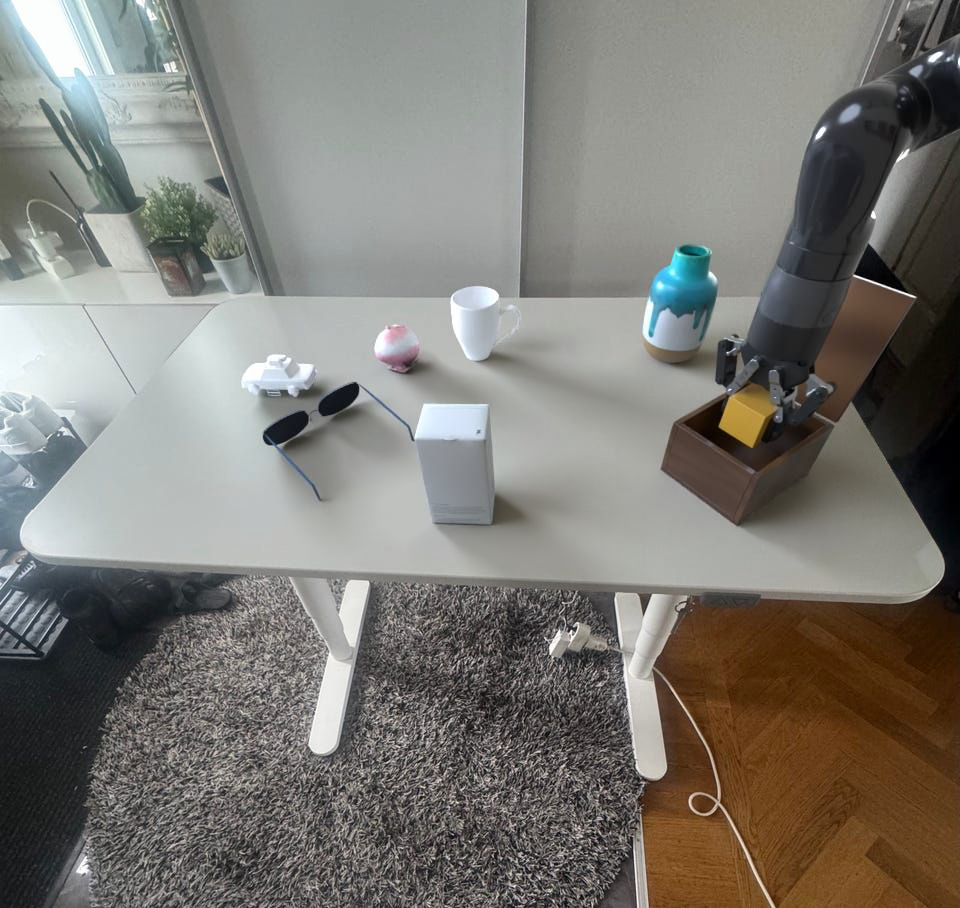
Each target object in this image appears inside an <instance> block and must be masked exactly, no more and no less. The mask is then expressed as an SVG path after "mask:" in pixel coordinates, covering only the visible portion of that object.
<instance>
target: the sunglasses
mask: <svg viewBox="0 0 960 908" xmlns="http://www.w3.org/2000/svg"><path fill="white" fill-rule="evenodd" d="M360 387H361V388H362V389H363V391H365V393H367V394H368V395H369V396H370V397H372V398H373V399H374V400H375V401H376V402H377V403H379V404H380V405H381V406H382V407H383V408H384V409H386V411H388V412H389V413H390V414H391V415H392V416H394V417H395V418H396V419H397V420H398V421H399V422H401V423H402V424H403V425H404V426H405V427H406V428H407V430H408V433H409V437H410V439H411V441H412V442H415V440H414V438H415V437H414V435H413V432H412V429H411V427H410V425H409V424H408V423H407V422H406V421H405V420H404V419H403V418H402V417H400V416H399V415H398V414H397V413H396V412H394V411H393V410H392V409H391V408H390V407H388V406H387V405H386V404H385V403H383V402H382V401H381V400H380V399H379V398H378V397H376V396H375V395H374V394H373V393H372V392H370V391H369V390H368V389H367V388H366V387H365V386H363V385H361V384H360V383H358V382H357V381H351V382H347V383H345V384H343V385H340V386H338V387H336V388H334V389H333V390H331V391H330V392H328V393H326V394H325V395H324V396H323V397H321V398H320V400H319V401H318V403H317V409H313V410H311V411H310V413H309V414H308V413H307V411H306V410H304V409H300V410H298V409H297V410H295V411H293V412H290V413H288V414H285V415H283V416H282V417H280V418H278V419H276V420H274V421H273V422H272V423H270V424H269V425H268V426H266V427H265V428H264V430H263V431H262V433H261V435H262V440H263V443H264V444H265V445H266V446H274V448H275V449H276V450H277V451H278V452H279V453H280V454H281V455H282V456H283V457H284V459H285V460H286V461H287V462H288V463H289V464H290V465H291V466H292V467H293V468H294V469H295V470H296V471H297V472H298V474H300V475H301V477H302V478H303V479H304V480H305V481H306V482H307V483H308V484H309V485H310V486H311V488H312V489H313V492H314V493H315V496H316V497H317V499H318V501H319V502H321V501H322V499H321V496H320V494H319V492H318V490H317V487H316V486H315V484H314V483H313V482H312V481H311V480H310V479H309V477H307V475H306V474H305V473H304V472H303V471H302V470H301V469H300V468H299V467H298V465H297V464H295V463H294V462H293V461H292V459H290V457H289V456H288V455H287V454H286V453H284V451H283V450H282V449H281V447H279V446H278V445H281V444H285V443H286V442H288V441H290V440H292V439H293V438H295V437H296V436H298V435H299V434H300V433H301V432H303V430H305V429H306V428H307V426H308V425H309V423H310V424H311V423H312V421H313V420H312V419H313V418H312V416H311V414H312V413H313V412H317V414H318V415H319V416H320V417H323V418H324V417H329V416H334V415H336V414H339V413H341V412H342V411H344V410H346V409H347V408H349V407H350V406H351V405H352V404H354V402H355V401H356V400H357V399H358V398H359V395H360Z"/></svg>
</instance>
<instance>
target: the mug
mask: <svg viewBox="0 0 960 908" xmlns="http://www.w3.org/2000/svg"><path fill="white" fill-rule="evenodd" d="M450 309H451V320H452V321H451V322H452V328H453V331H454V334H455V337H456V339H457V341H458V342H459V344H460V347H461V348H462V350H463V352H464V354H465V356H466V358H467V359H468V360H470V361H474V362H480V361H481V362H482V361H484V360H487V359H488V358H489V357H490V354H491V352H492V350H493V348H494V347H497V346H499V345H501V344H502V343H504V342H505V341H507V340H508V339H509V338H512V336H513V335H515V334H516V333H517V332H518V331H519V329H520V327H521V324H522V314H521V311H520V309H519V308H518V306H516V305H515V304H508V305H506V306H504V307H503V308H502V307H501V299H500V295H499V293H498V292H497V290H495V289H493V288H490V287H487V286H481V285H475V286H474V285H472V286H467V287H462V288H460V289H458V290H456V291H455V292H454V293H453V294H452V296H451V298H450ZM509 311H512V312H514V313H515V314H516V316H517V322H516V325H515V326H514V327H513V329H511V331H509V332H508V333H507V334H505V335H504V336H502V337H501V338H500V339H497V337H498V334H499V332H500V326H501V321H502V317H503V315H504V314H505V313H507V312H509Z"/></svg>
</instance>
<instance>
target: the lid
mask: <svg viewBox="0 0 960 908" xmlns="http://www.w3.org/2000/svg"><path fill="white" fill-rule="evenodd" d="M917 299H918V296H915V295H912V294H909V293H906V292H904V291H902V290H898V289H896V288H892V287H890V286H887V285H885V284H881V283H878V282H876V281H874V280H870V279H867V278H865V277H861V276H859V275H856V274H854V275H853V277H852V280H851V283H850V287H849V290H848V293H847V296H846V298H845V301H844V303H843V305H842V307H841V309H840V311H839V313H838V315H837V317H836V320H835V322H834V324H833V326H832V328H831V330H830V332H829V334H828V336H827V338H826V341H825V343H824V345H823V347H822V349H821V351H820V353H819V355H818V357H817V359H816V361H815V375H816V376H818V377H819V378H820V379H822V380H823V381H824V382H825V383H827V382H829V381H833V382H835V383H836V384H837V389H836V391H835V392H834V393H833V394H832V395H831V396H830V397H829V398H828V399H827V400H826V401H825V402H824V403H823V404H822V405H821V406H820V407H819V408H818V410H817V411H816V412H815V413H816V414H817V415H818V416H819V415H820V416H821V417H822V418H824V419H826V420H829V421H830V422H831V423H833V424H834V423H835V424H836V423H838V422H839V421H840V419H841V418H842V417H843V415H844V414H845V412H846V411H847V409H848V407H849V406H850V404H851V403H852V401H853V399H854V398H855V396H856V395H857V393H858V392H859V390H860V389H861V387H862V386H863V384H864V382H865V380H866V379H867V377H868V376H869V375H870V372H871V371H872V369H873V368H874V366H875V365H876V363H877V361H878V360H879V358H880V357H881V355H882V354H883V353H884V351H885V349H886V347H887V346H888V344H889V343H890V341H891V340H892V338H893V337H894V335H895V333H896V332H897V330H898V329H899V327H900V326H901V324H902V322H903V321H904V319H905V317H906V316H907V315H908V313H909V311H910V309H911V308H912V307H913V305H914V304H915V302H916V300H917ZM806 390H807V385H806V383H805V382H804V383H802V384H800V385H798V394H797V396H796V398H795V403H796V404H798V405H800V406H801V405H802V404H803V403H804V402H805V400H806V399H807V397H805V394H806Z"/></svg>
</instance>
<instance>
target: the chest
mask: <svg viewBox="0 0 960 908" xmlns="http://www.w3.org/2000/svg"><path fill="white" fill-rule="evenodd" d="M751 384H752V382H751V383H750V384H749V385H751ZM749 385H748V386H749ZM726 394H727V393H726V391H725V392H724V393H721V394H720V395H718V396H715V397H714V398H713V399H711V400H710V401H708V402H706V403H704V404H703V405H701V406H700V407H697V408H696V409H694V410H692V411H690V412H689V413H687V414H685V415H684V416H681V417H680V418H678V419H677V420H675V421H673V423H672V426H671V430H670V433H669V437H668V440H667V444H666V448H665V451H664V455H663V458H662V462H661V466H660V468H659V470H660V471H662V472H663V473H664V474H666V475H667V476H668V477H669V478H671V479H673V480H674V481H675V482H676V483H678V484H679V485H680V486H682V487H683V488H685V489H686V490H687V491H689V492H690V493H691V494H693V495H694V496H695V497H697V498H698V499H699V500H701V501H702V502H704V504H706V505H708V506H709V507H710V508H712V509H713V510H714V511H716V512H717V513H718V514H719V515H721V516H722V517H723V518H725V519H726V520H727V521H728V522H730V523H732V524H733V525H734V526H736V527H737V526H739V525H740V524H742V523H743V522H744V521H746V520H747V519H749V518H750V517H751V516H753V515H754V514H756V513H757V511H759V510H761V509H762V508H763V507H765V506H766V505H768V504H769V503H770V502H771V501H773V500H774V499H775V498H777V497H778V496H780V495H781V494H782V493H784V492H785V491H787V490H788V489H789V488H791V487H792V486H793V485H794V484H796V483H797V482H799V481H800V480H802V479H803V478H804V477H806V476H807V475H808V474H809V473H810V472H811V469H812V467H813V466H814V464H815V462H816V460H817V458H818V457H819V455H820V453H821V451H822V450H823V448H824V446H825V445H826V443H827V441H828V439H829V437H830V436H831V434H832V432H833V430H834V429H835V427H836V424H834V423H833V422H831V421H828V420H827V419H825V418H824V417H822V416H821V417H820V416H819V415H818V414H815V413H814V414H813V415H812V416H811V417H810V418H809V419H807V420H806V421H804V422H803V423H801V424H800V425H798V426H796V427H793V426H791V425H790V424H789V423H788V424H787V426H786V428H785V430H784V432H783V434H782V436H780V437H779V438H777V439H776V440H774V441H773V442H771V441H770V442H768V443H767V444H766V443H764V442H761V443H760V444H758V445H757V446H755V447H754V448H751V447H749V446H748V445H746V444H744V443H743V442H741V441H740V440H738V439H736V438H735V437H733V436H732V435H730V434H729V433H727V432H725V431H724V430H722V429H721V428H719V425H720V422H721V419H722V416H723V414H724V413H723V412H722V405H723V403H724V400H725V397H726ZM800 406H801V405H800V404H798V403H795V409H798V408H799V407H800Z"/></svg>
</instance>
